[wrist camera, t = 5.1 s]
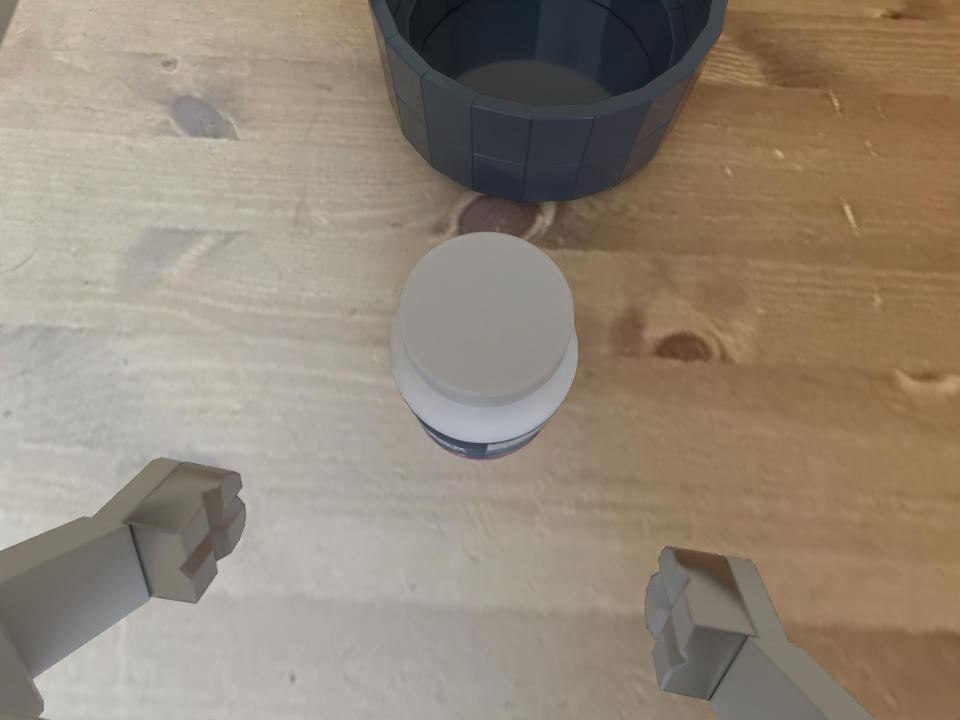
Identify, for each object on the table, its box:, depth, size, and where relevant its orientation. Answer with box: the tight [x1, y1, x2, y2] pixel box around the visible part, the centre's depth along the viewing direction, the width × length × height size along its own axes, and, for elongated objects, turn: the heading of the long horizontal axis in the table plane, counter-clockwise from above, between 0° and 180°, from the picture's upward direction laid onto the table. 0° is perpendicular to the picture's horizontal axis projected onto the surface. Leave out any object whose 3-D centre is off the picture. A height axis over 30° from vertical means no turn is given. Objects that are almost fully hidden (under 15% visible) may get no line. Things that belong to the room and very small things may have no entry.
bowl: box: [368, 0, 728, 202], centre depth 21 cm, size 13×13×6 cm
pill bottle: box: [390, 232, 578, 461], centre depth 16 cm, size 5×5×9 cm
